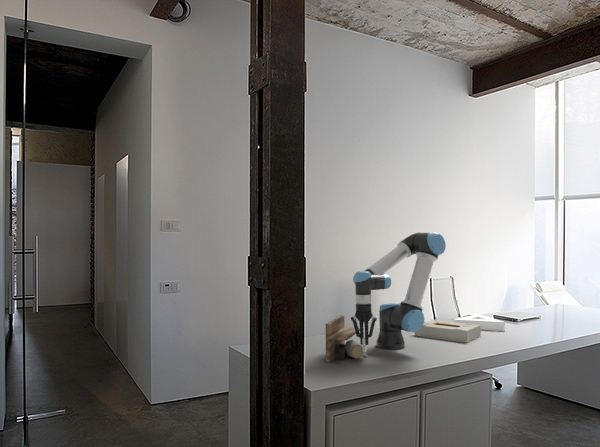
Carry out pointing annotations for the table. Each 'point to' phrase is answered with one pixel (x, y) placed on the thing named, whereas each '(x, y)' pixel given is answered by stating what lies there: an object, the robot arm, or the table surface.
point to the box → (449, 330)
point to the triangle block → (483, 322)
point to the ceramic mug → (354, 349)
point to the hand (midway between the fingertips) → (364, 351)
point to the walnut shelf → (337, 338)
